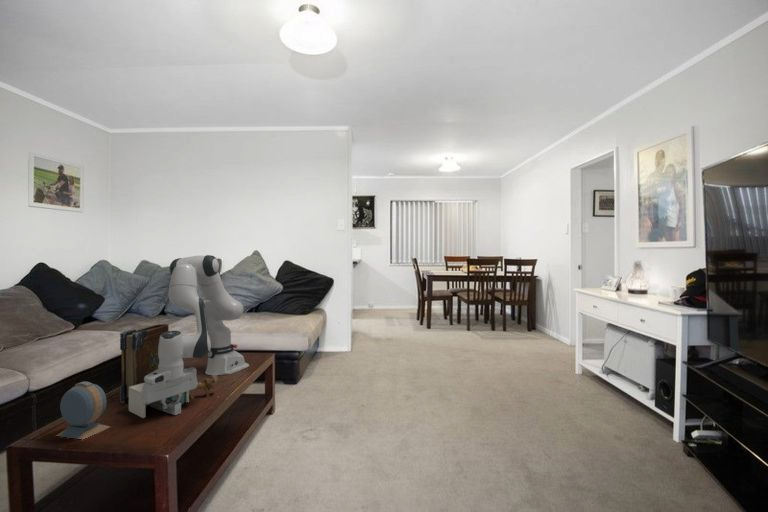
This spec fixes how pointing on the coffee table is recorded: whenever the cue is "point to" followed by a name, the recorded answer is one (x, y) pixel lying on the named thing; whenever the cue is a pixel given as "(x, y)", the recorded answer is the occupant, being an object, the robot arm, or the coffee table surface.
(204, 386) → the lion figurine
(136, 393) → the block
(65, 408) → the alarm clock
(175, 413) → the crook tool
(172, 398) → the cube
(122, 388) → the decorative book
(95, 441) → the coffee table surface
